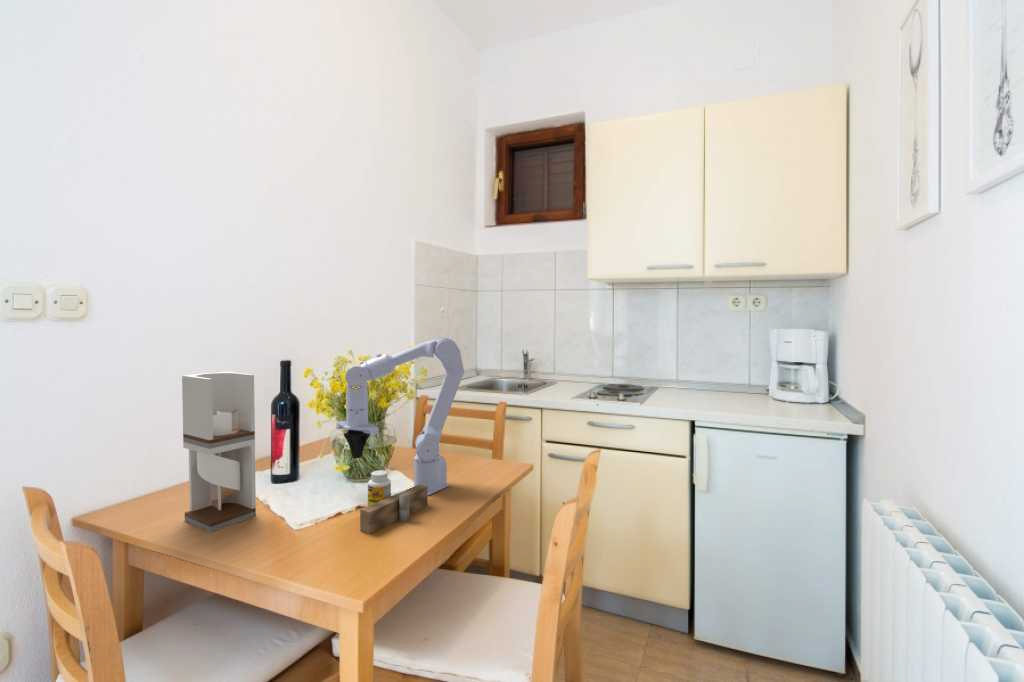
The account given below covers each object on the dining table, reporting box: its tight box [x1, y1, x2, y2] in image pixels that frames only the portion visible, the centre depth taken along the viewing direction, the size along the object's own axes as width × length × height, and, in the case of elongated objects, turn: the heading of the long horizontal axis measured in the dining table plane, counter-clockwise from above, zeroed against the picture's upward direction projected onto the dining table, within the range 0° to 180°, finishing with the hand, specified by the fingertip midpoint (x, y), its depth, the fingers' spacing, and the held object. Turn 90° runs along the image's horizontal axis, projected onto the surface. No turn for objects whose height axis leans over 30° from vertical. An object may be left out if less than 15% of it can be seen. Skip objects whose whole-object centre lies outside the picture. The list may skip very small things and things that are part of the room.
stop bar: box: [359, 484, 429, 535], centre depth 117 cm, size 20×5×6 cm, turn 149°
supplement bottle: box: [367, 469, 392, 506], centre depth 120 cm, size 6×6×10 cm
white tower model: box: [181, 371, 257, 533], centre depth 115 cm, size 11×11×35 cm
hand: (357, 457), depth 132 cm, fingers closed
